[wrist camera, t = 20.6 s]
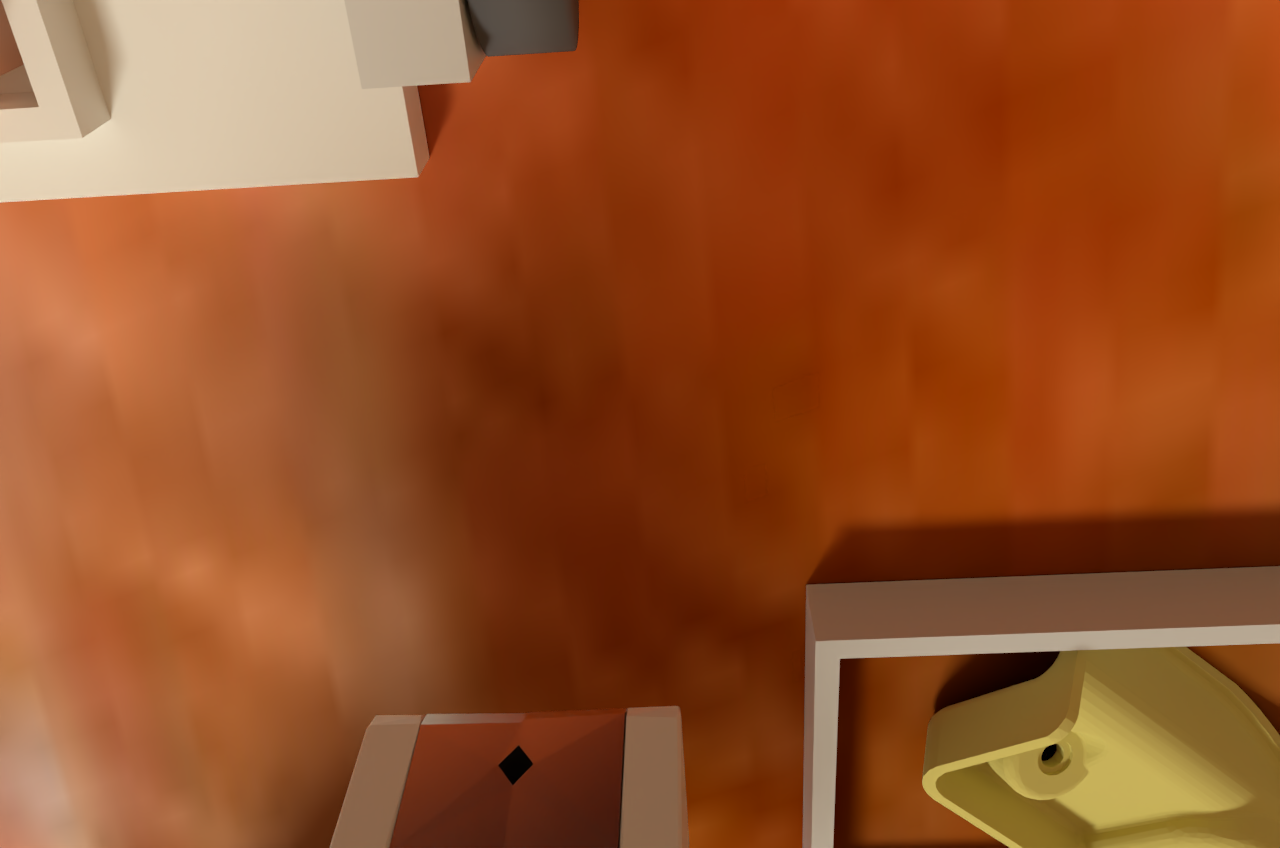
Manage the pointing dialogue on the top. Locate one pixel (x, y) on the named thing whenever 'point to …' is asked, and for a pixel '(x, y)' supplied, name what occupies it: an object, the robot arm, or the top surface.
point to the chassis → (222, 92)
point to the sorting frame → (1011, 633)
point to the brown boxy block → (8, 45)
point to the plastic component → (1112, 756)
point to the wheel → (525, 26)
